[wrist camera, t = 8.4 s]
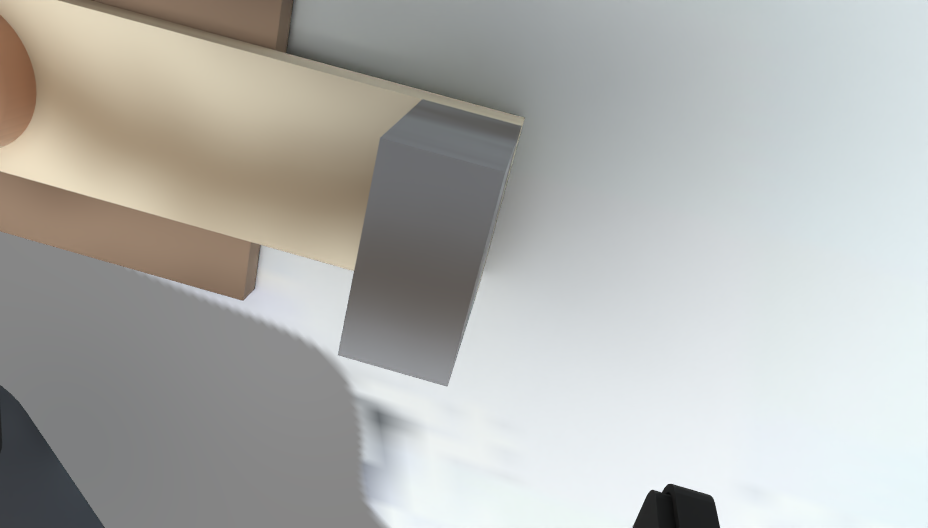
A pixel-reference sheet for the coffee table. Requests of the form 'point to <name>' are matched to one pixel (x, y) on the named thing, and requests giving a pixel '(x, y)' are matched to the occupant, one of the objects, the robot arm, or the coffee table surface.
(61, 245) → the lane board
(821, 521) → the coffee table surface
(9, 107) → the puck
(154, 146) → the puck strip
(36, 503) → the streaming box
